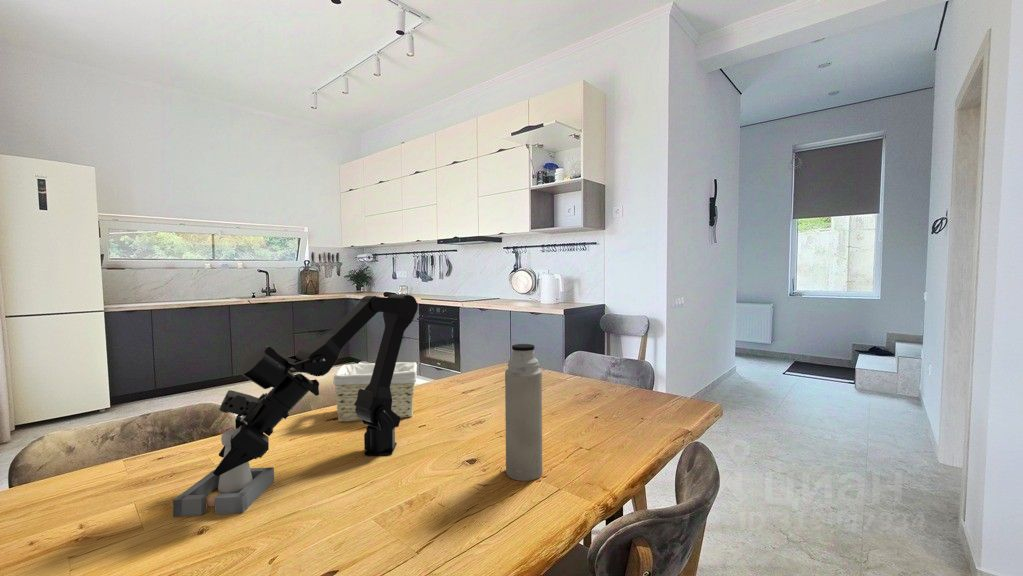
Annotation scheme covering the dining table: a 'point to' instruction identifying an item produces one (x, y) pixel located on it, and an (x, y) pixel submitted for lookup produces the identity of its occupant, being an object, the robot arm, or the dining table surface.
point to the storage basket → (360, 377)
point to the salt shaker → (233, 471)
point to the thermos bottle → (523, 414)
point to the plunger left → (212, 500)
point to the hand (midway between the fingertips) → (217, 464)
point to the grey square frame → (224, 503)
